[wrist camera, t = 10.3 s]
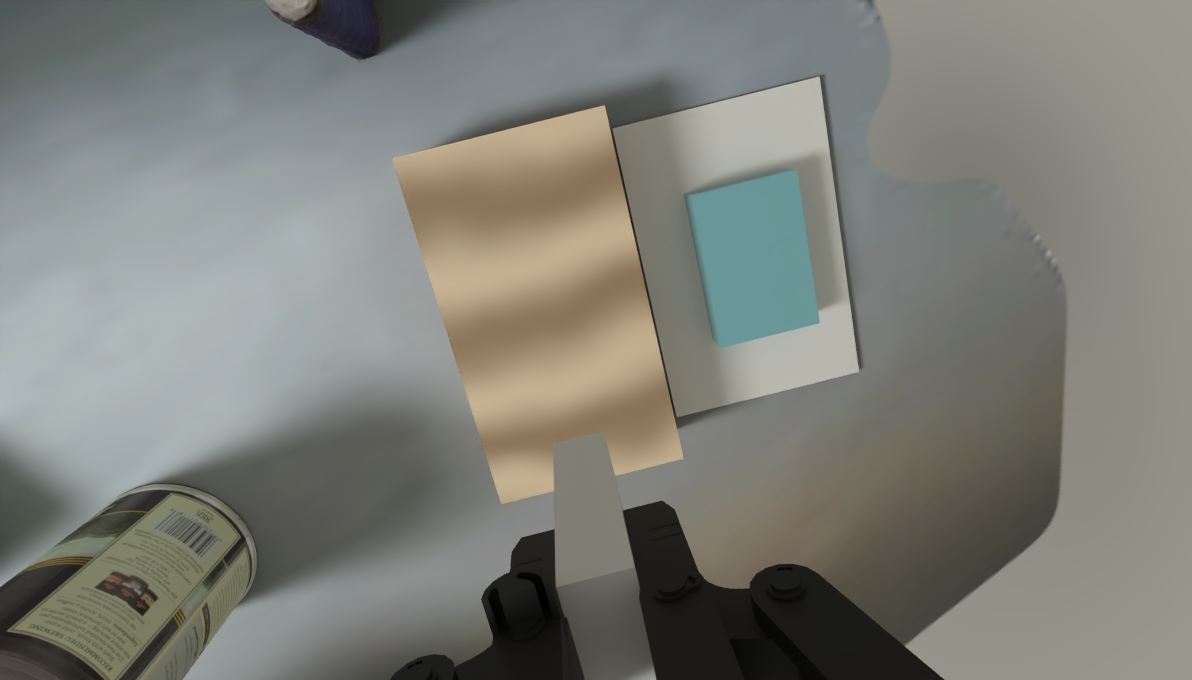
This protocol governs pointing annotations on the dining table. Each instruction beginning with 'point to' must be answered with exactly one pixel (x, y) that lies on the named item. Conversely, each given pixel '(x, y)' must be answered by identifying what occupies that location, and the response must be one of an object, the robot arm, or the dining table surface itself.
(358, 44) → the flask
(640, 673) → the robot arm
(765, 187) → the teal rectangular block
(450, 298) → the tan flat rectangular slab
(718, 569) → the dining table surface
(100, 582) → the coffee can
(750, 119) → the mat
